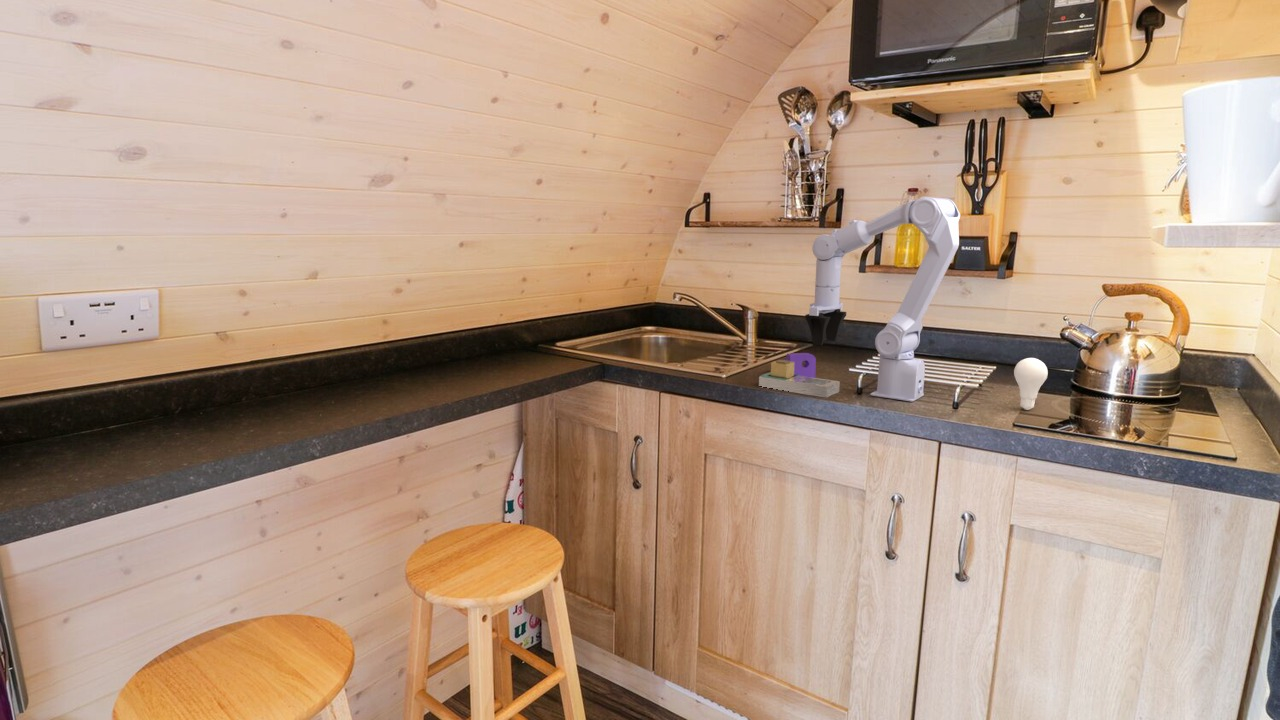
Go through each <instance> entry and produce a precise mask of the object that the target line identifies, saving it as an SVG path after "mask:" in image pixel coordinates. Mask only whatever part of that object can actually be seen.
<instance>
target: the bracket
mask: <svg viewBox="0 0 1280 720" xmlns="http://www.w3.org/2000/svg"><path fill="white" fill-rule="evenodd" d="M784 360H787V361H790V362H795V363H794V374H798V375H799V376H806V377H813V378H816V369H817V367H816V366H817V358H816V357H815V354H811V353H809V352H800V353H799V352H797V353H786V358H784ZM804 361H805V362H804ZM803 362H804V363H805V364H804V365H803Z"/></svg>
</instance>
